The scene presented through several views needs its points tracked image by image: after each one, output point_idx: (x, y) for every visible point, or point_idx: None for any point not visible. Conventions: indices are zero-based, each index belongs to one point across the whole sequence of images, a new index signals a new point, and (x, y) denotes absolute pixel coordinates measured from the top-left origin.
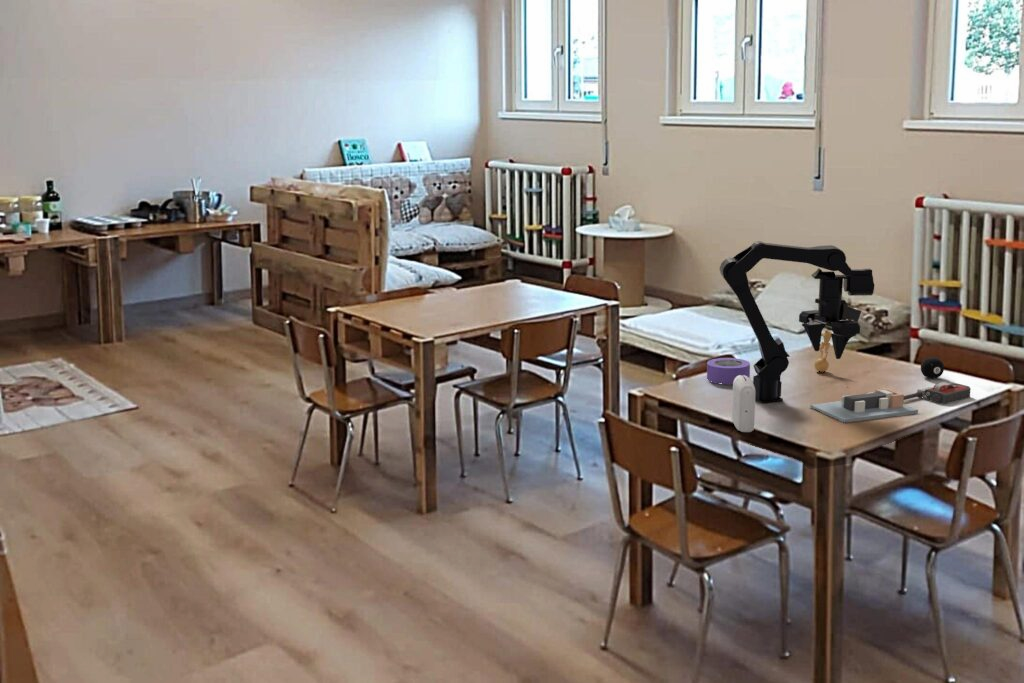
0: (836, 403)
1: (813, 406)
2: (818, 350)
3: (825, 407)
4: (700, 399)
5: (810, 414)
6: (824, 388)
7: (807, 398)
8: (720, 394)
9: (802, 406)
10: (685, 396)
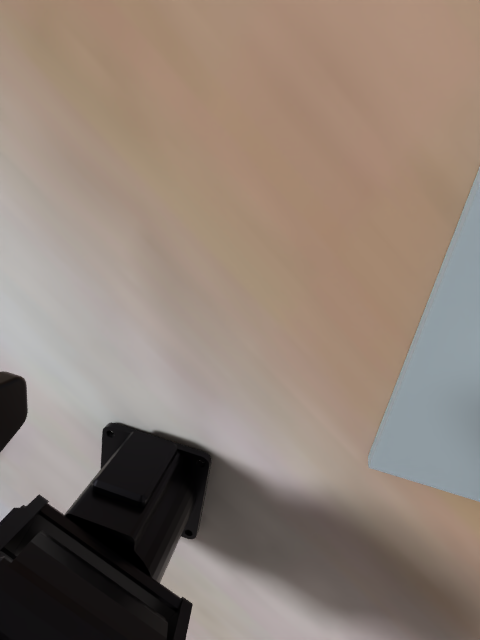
0: (455, 353)
1: (397, 474)
2: (22, 388)
3: (461, 456)
4: None
5: (443, 532)
6: (125, 85)
7: (235, 336)
8: None
9: (325, 459)
10: None
